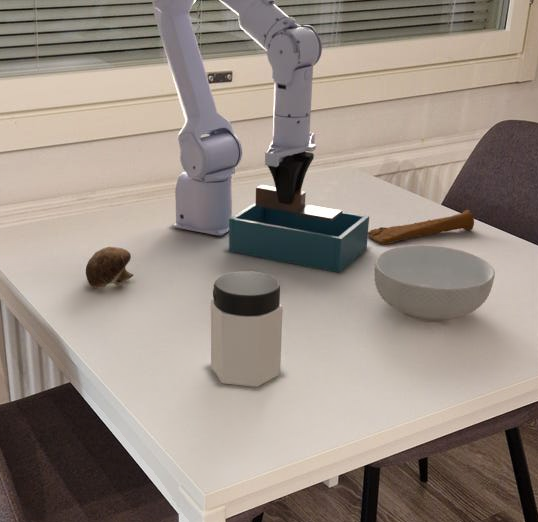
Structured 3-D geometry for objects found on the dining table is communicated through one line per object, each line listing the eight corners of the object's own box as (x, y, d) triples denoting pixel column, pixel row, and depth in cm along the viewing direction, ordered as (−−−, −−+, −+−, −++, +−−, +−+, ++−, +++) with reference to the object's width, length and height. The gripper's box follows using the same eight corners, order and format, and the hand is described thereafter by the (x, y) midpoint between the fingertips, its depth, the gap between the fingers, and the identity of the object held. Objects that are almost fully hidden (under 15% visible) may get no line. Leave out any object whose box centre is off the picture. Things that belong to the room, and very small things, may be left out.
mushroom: (152, 261, 145) (125, 229, 142) (128, 297, 141) (99, 265, 138) (120, 273, 151) (93, 243, 148) (96, 308, 147) (68, 278, 144)
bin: (228, 251, 159) (228, 218, 156) (261, 229, 168) (262, 197, 165) (338, 272, 152) (341, 239, 149) (366, 248, 162) (369, 216, 159)
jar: (243, 350, 128) (245, 264, 121) (291, 370, 123) (296, 281, 117) (197, 373, 122) (196, 284, 115) (246, 394, 118) (248, 303, 111)
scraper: (251, 208, 156) (252, 189, 154) (264, 200, 160) (264, 182, 158) (331, 222, 151) (332, 203, 149) (342, 214, 155) (343, 195, 153)
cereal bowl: (414, 344, 131) (420, 295, 127) (349, 300, 143) (352, 254, 139) (511, 322, 137) (520, 275, 133) (441, 282, 150) (447, 238, 146)
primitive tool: (380, 244, 163) (382, 224, 161) (365, 234, 167) (366, 214, 165) (476, 233, 169) (479, 213, 167) (459, 223, 173) (462, 204, 172)
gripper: (296, 126, 141) (292, 217, 148) (334, 107, 152) (328, 192, 159) (253, 120, 143) (251, 210, 151) (293, 101, 154) (289, 186, 162)
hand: (288, 201), depth 155 cm, fingers closed on scraper, 2 cm apart
